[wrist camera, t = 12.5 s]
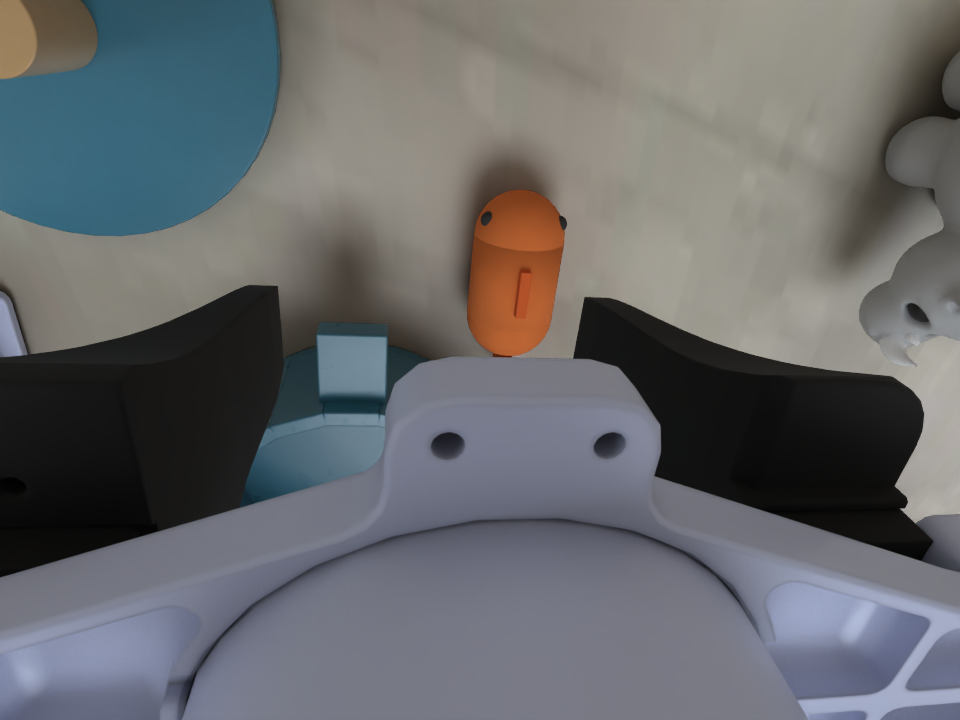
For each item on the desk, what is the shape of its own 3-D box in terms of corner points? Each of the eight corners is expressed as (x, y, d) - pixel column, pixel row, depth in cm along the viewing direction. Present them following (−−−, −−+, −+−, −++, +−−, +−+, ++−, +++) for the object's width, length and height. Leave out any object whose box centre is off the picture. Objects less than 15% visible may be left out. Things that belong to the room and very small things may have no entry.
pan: (243, 586, 32) (216, 684, 27) (201, 275, 23) (151, 339, 18) (469, 578, 33) (482, 669, 29) (505, 288, 25) (531, 349, 20)
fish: (531, 361, 27) (549, 406, 24) (457, 359, 26) (466, 405, 23) (559, 183, 23) (585, 208, 20) (473, 177, 23) (486, 201, 19)
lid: (50, 282, 23) (-26, 338, 18) (-303, -119, 16) (-537, -168, 12) (354, 136, 21) (344, 161, 17) (103, -357, 15) (-5, -502, 11)
